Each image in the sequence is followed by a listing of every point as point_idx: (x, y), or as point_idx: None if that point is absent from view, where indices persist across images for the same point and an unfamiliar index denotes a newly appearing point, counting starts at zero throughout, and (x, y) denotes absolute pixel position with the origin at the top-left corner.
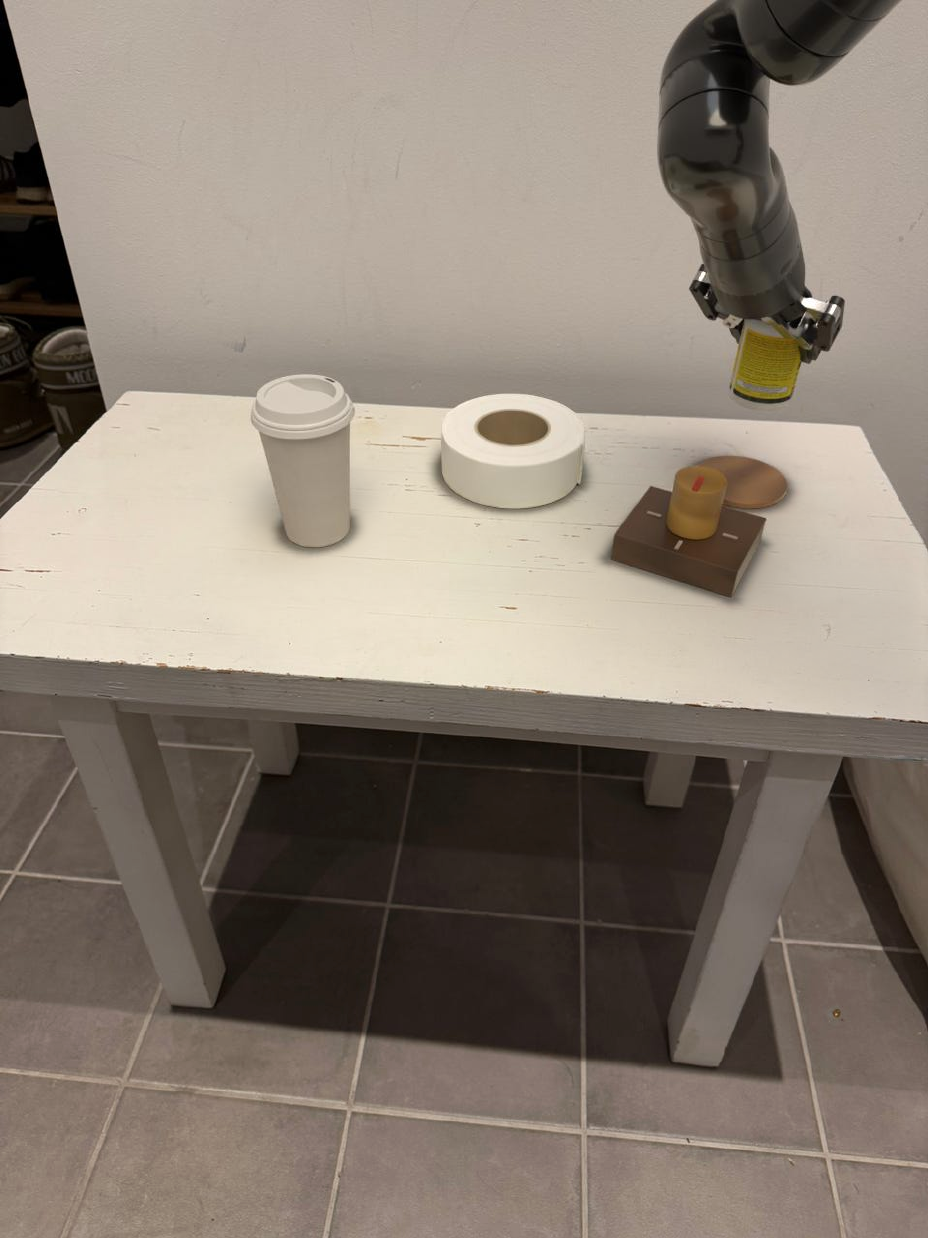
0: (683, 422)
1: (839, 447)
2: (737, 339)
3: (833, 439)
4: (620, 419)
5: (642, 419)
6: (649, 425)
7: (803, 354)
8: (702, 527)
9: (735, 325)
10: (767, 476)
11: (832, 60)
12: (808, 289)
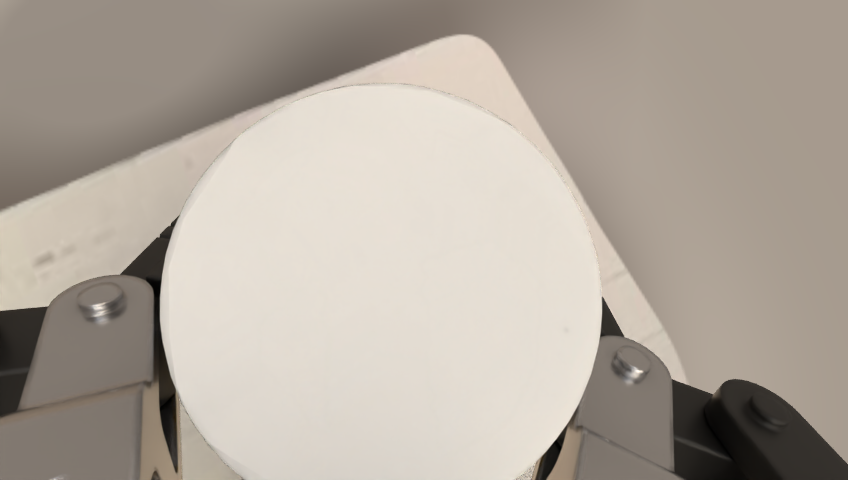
0: (214, 146)
1: (487, 101)
2: None
3: (471, 80)
4: (88, 196)
5: (132, 174)
6: (154, 189)
7: None
8: None
9: (180, 430)
10: None
11: None
12: (546, 161)
